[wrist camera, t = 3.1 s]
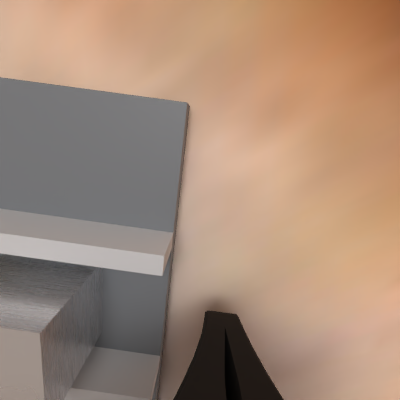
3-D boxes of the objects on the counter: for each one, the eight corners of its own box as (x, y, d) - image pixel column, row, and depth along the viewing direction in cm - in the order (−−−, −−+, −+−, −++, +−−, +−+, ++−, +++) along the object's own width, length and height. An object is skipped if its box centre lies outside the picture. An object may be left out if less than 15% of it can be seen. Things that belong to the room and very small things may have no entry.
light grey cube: (101, 331, 11) (46, 430, 8) (22, 320, 11) (-74, 413, 8) (103, 260, 10) (40, 333, 7) (15, 247, 10) (-101, 313, 7)
